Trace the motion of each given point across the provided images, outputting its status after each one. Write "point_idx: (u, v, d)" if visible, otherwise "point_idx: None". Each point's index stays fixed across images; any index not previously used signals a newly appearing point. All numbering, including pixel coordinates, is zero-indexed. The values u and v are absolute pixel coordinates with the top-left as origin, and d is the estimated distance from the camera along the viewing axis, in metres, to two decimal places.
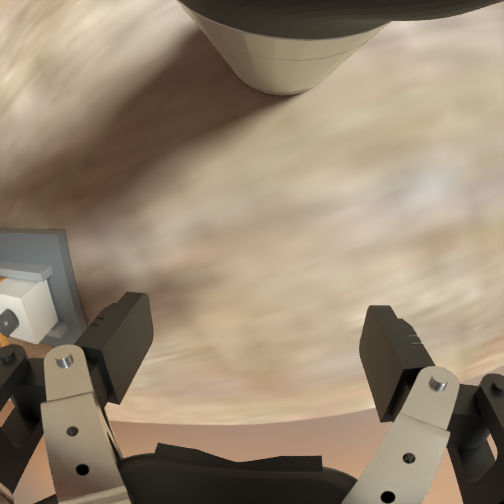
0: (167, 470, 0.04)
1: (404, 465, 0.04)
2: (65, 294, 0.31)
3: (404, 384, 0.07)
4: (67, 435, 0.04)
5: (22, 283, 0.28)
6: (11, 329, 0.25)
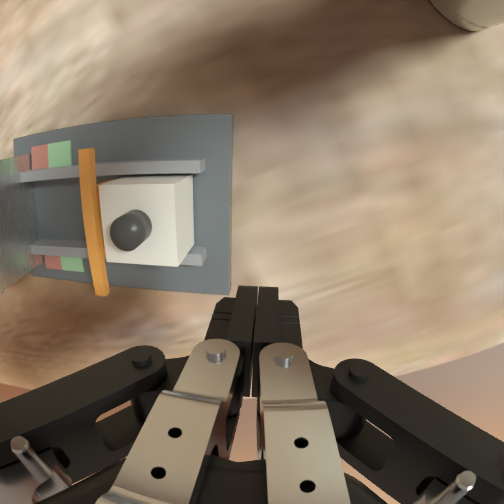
0: None
1: (301, 450, 0.04)
2: (219, 200, 0.26)
3: None
4: (166, 434, 0.04)
5: (158, 178, 0.23)
6: (143, 237, 0.20)
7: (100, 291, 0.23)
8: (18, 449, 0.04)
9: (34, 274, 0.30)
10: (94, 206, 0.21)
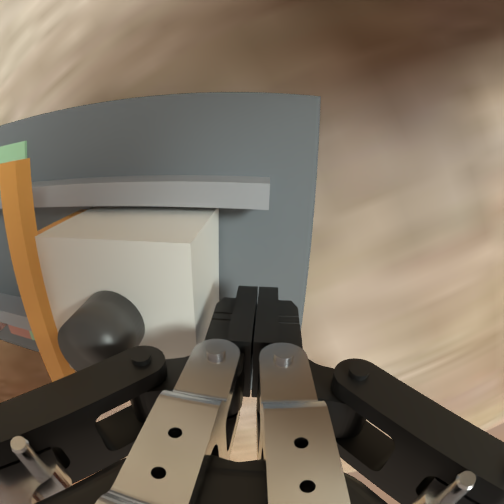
0: None
1: (301, 450, 0.04)
2: (292, 254, 0.14)
3: None
4: (167, 434, 0.04)
5: (154, 216, 0.12)
6: None
7: None
8: (18, 449, 0.04)
9: None
10: (36, 278, 0.09)
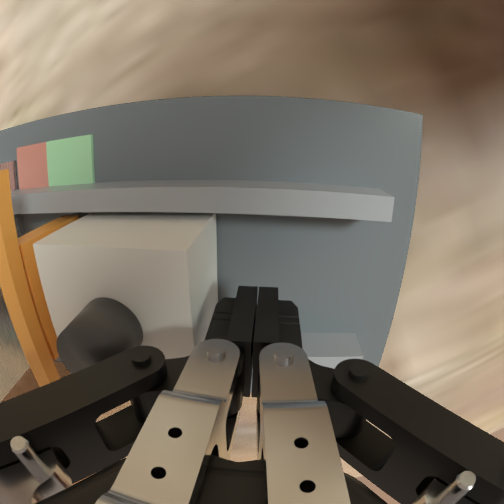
0: None
1: (301, 450, 0.04)
2: (391, 262, 0.14)
3: None
4: (167, 434, 0.04)
5: (151, 222, 0.12)
6: None
7: None
8: (18, 449, 0.04)
9: None
10: (16, 283, 0.09)
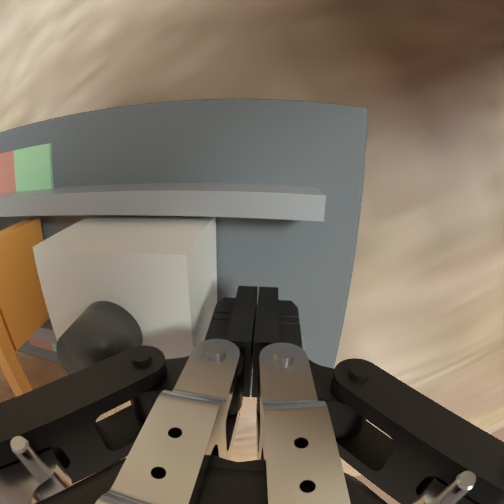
0: None
1: (301, 450, 0.04)
2: (337, 264, 0.14)
3: None
4: (167, 434, 0.04)
5: (150, 225, 0.12)
6: None
7: None
8: (18, 449, 0.04)
9: None
10: None
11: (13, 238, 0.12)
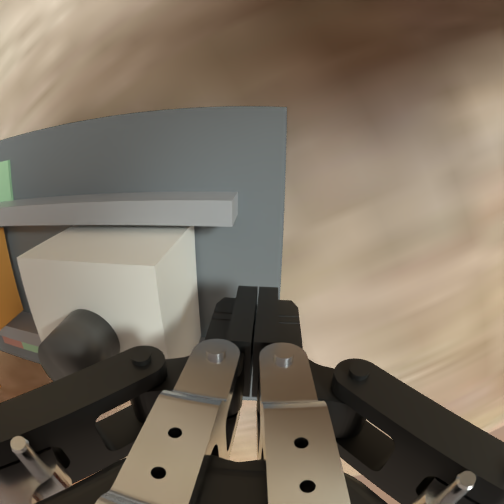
0: None
1: (301, 451, 0.04)
2: (263, 268, 0.15)
3: None
4: (167, 434, 0.04)
5: (128, 235, 0.12)
6: None
7: None
8: (18, 449, 0.04)
9: None
10: None
11: None
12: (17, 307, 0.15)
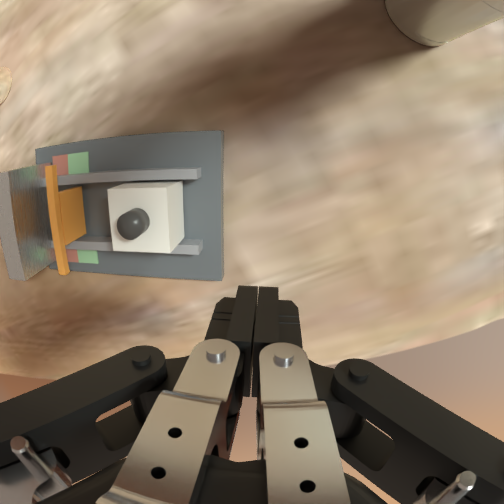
0: None
1: (301, 450, 0.04)
2: (213, 201, 0.32)
3: None
4: (167, 434, 0.04)
5: (155, 183, 0.29)
6: (142, 228, 0.26)
7: (62, 271, 0.29)
8: (18, 449, 0.04)
9: (52, 267, 0.36)
10: (56, 207, 0.27)
11: (70, 193, 0.29)
12: (83, 231, 0.33)
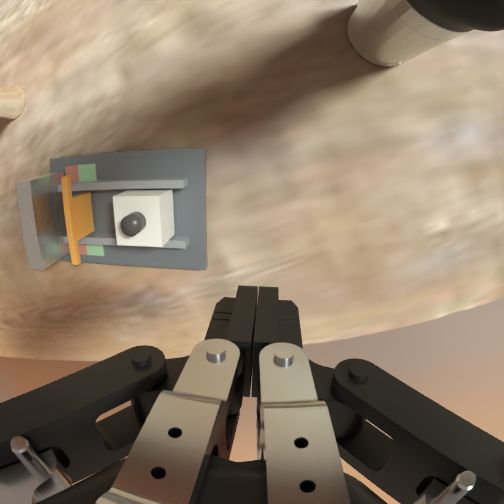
0: None
1: (301, 450, 0.04)
2: (197, 205, 0.39)
3: None
4: (166, 434, 0.04)
5: (150, 191, 0.36)
6: (140, 228, 0.33)
7: (74, 261, 0.36)
8: (18, 449, 0.04)
9: (64, 259, 0.43)
10: (70, 210, 0.34)
11: (81, 198, 0.36)
12: (92, 228, 0.40)
